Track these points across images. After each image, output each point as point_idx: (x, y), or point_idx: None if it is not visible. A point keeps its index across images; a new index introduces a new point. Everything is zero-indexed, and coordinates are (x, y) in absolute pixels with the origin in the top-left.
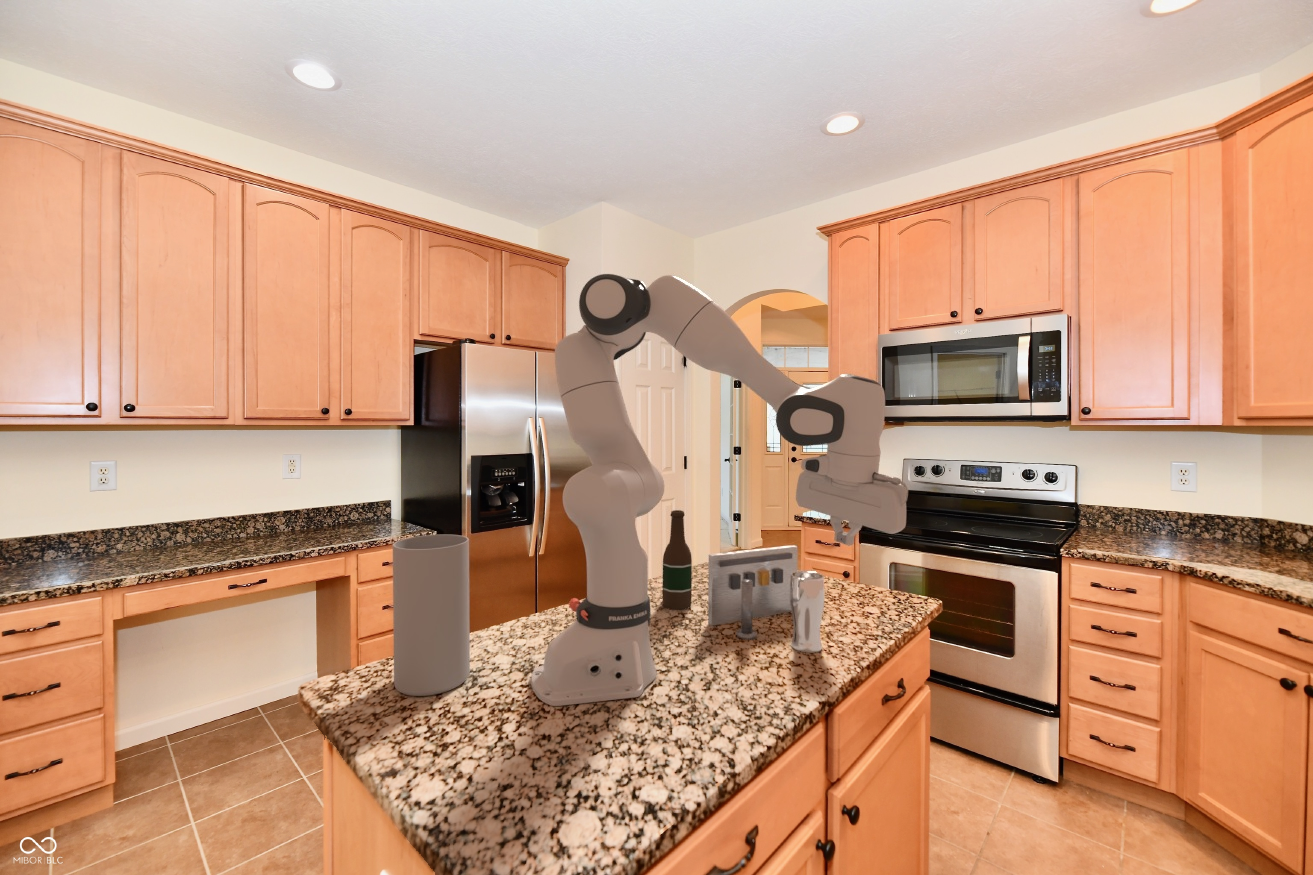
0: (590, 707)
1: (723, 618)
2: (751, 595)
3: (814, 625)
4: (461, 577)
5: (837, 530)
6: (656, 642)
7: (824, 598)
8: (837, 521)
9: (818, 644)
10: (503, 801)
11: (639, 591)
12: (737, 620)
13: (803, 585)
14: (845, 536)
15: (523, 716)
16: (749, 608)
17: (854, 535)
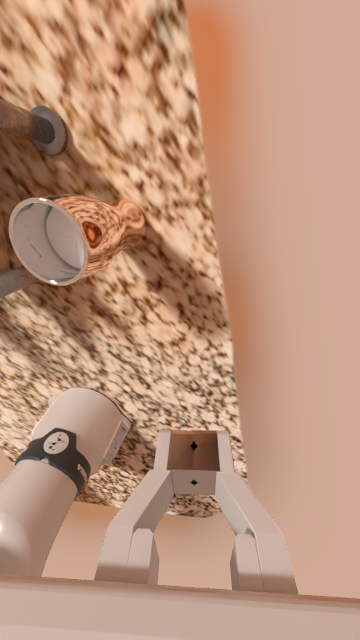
0: (127, 444)
1: (2, 257)
2: (16, 281)
3: (128, 238)
4: None
5: (168, 504)
6: (41, 353)
7: (107, 217)
8: (157, 564)
9: (141, 224)
10: (182, 499)
11: (65, 498)
12: (3, 230)
13: (82, 278)
14: (213, 490)
15: (117, 466)
16: (34, 278)
17: (234, 470)
